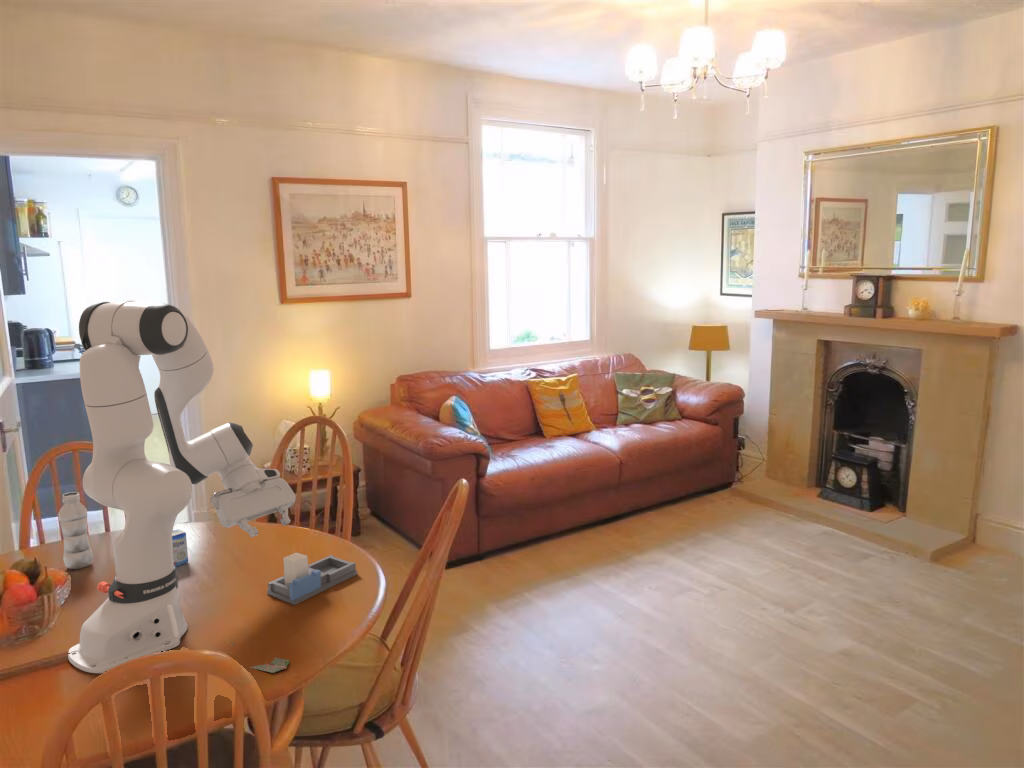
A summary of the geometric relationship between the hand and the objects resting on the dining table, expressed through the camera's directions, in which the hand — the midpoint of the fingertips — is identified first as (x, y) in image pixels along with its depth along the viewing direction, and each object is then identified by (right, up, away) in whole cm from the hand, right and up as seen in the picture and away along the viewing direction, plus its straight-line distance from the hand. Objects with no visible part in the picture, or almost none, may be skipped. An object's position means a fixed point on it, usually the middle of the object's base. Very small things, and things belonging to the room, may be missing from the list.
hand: (271, 529), depth 175 cm
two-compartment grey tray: (+10, -14, +2) cm, 17 cm away
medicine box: (-31, -12, +13) cm, 36 cm away
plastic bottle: (-55, -13, +12) cm, 57 cm away
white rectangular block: (+7, -14, -2) cm, 16 cm away
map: (+5, -20, -31) cm, 37 cm away
